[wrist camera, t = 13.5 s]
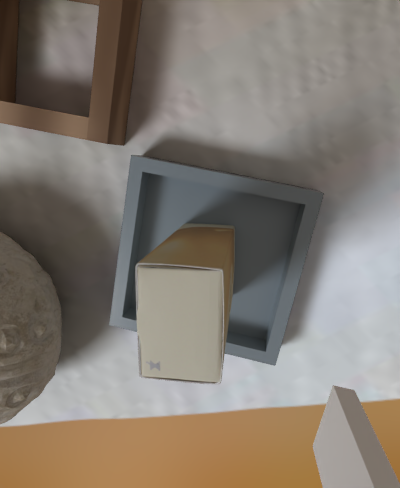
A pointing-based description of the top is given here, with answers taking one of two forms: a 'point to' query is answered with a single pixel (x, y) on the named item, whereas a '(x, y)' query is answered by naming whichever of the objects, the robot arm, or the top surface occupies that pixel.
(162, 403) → the top surface
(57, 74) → the top surface
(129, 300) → the tray
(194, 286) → the skincare box
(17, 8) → the socket block
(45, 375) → the decorative shell
